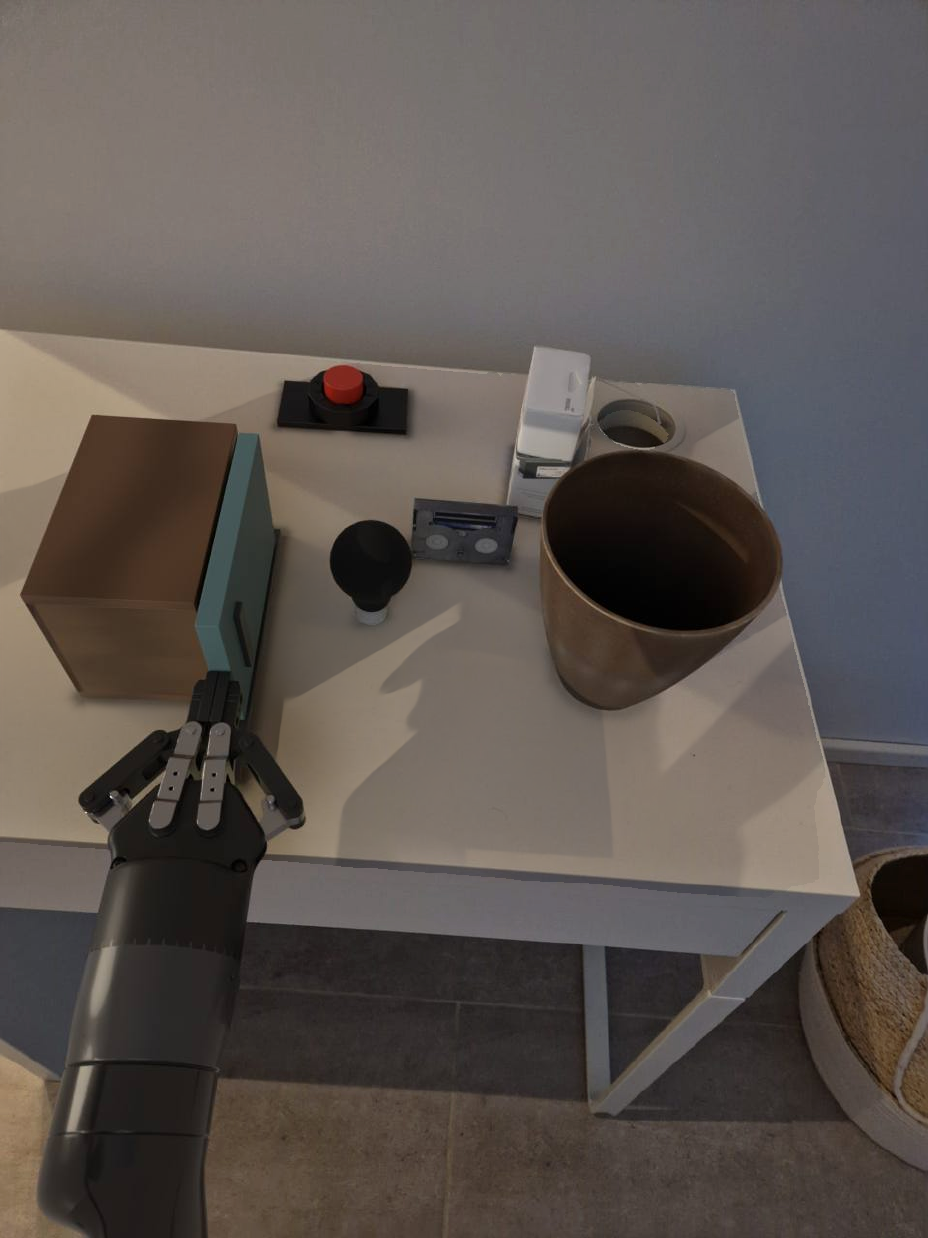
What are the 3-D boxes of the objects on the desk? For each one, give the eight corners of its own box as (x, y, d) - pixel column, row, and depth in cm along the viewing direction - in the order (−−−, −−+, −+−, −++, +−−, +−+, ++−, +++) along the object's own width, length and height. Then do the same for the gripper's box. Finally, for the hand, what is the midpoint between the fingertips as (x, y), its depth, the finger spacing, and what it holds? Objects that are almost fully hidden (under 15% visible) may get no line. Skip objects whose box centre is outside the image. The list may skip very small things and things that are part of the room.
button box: (277, 428, 74) (274, 407, 72) (285, 384, 78) (283, 362, 76) (405, 436, 75) (406, 416, 73) (408, 392, 79) (408, 371, 77)
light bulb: (338, 586, 64) (333, 499, 56) (411, 592, 64) (416, 506, 56) (329, 646, 60) (322, 563, 52) (406, 652, 61) (410, 570, 53)
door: (224, 719, 55) (194, 625, 46) (258, 539, 65) (238, 432, 55) (250, 720, 55) (226, 627, 46) (280, 540, 65) (264, 433, 56)
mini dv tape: (507, 552, 68) (518, 502, 63) (508, 565, 67) (518, 516, 62) (411, 544, 67) (414, 494, 62) (410, 558, 66) (413, 508, 61)
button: (322, 403, 73) (321, 388, 72) (326, 378, 75) (325, 363, 74) (361, 406, 74) (361, 390, 72) (364, 381, 76) (364, 365, 74)
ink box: (513, 448, 75) (533, 340, 66) (564, 457, 75) (592, 350, 66) (503, 512, 70) (523, 406, 61) (558, 522, 70) (587, 417, 61)
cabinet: (55, 781, 52) (-18, 688, 43) (134, 526, 65) (92, 411, 56) (239, 786, 53) (209, 696, 44) (281, 534, 66) (265, 422, 57)
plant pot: (680, 788, 56) (771, 668, 43) (481, 719, 58) (511, 585, 45) (710, 628, 65) (793, 488, 52) (536, 572, 67) (575, 424, 54)
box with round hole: (577, 404, 80) (597, 364, 76) (655, 430, 81) (677, 392, 77) (563, 501, 72) (584, 462, 68) (649, 529, 73) (675, 492, 69)
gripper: (288, 953, 38) (323, 650, 48) (1, 949, 37) (98, 640, 47) (300, 985, 44) (329, 710, 54) (54, 982, 43) (129, 702, 53)
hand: (221, 678), depth 50 cm, fingers closed
